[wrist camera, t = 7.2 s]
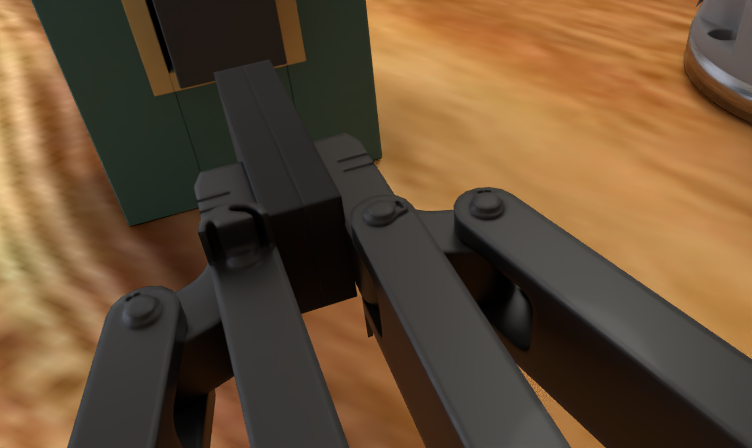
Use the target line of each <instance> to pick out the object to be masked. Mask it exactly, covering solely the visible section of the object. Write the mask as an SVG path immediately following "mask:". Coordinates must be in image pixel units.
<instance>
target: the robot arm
mask: <svg viewBox="0 0 752 448" xmlns="http://www.w3.org/2000/svg"><path fill="white" fill-rule="evenodd" d="M702 1H703V0H699V2H698V4H697V5H696V7H697V6H698V5H699V4H700V3H701V2H702ZM684 66H685V69H686V72H687V75H688V76H689V78H690V79H691V81H692V82H693V84H694V85H695V86H696V87H697V88H698V89H699V90H700V91H701V92H702V93H703V94H704V95H705V96H706V97H708V98H709V99H710V100H712V101H713V102H714V103H716V104H717V105H719V106H721V107H722V108H724V109H725V110H727V111H729V112H731V113H733V114H734V115H736V116H738V117H740V118H742V119H744V120H747V121H749V122H751V123H752V0H704V1H703V3H702V5H701V6H700V8H699V10H698V12H697V14H696V16H695V17H694V19H693V21H692V24H691V27H690V31H689V36H688V40H687V45H686V50H685V54H684ZM213 73H214V76H215V80H216V84H217V87H218V91H219V95H220V99H221V102H222V106H223V110H224V113H225V117H226V121H227V124H228V128H229V132H230V135H231V139H232V143H233V146H234V150H235V154H236V157H237V161H238V162H237V163H233V164H229V165H225V166H222V167H218V168H214V169H210V170H206V171H203V172H200V174H199V176H198V178H197V181H196V183H195V185H194V189H195V193H196V198H197V202H198V207H199V211H200V215H201V221H200V223H199V227H198V234H199V237H200V240H201V243H202V246H203V248H204V251H205V254H206V257H207V260H208V264H207V267H206V268H205V270H204V271H203V273H202V274H201V275H200V276H199V277H198V278H197V279H196V280H195V281H193V282H192V283H190V284H189V285H187V286H186V287H184V288H182V289H180V290H178V291H177V292H175V293H174V292H173V290H171V289H168V288H165V287H163V286H148V287H144V288H140V289H136V290H134V291H132V292H130V293H128V294H126V295H124V296H123V297H121V298H120V299H119V300H118V301H117V302H116V303H115V304H114V305H113V306H112V307H111V309H110V310H109V312H108V314H107V316H106V318H105V322H104V325H103V328H102V332H101V335H100V339H99V342H98V345H97V349H96V352H95V356H94V359H93V362H92V366H91V369H90V372H89V376H88V379H87V383H86V386H85V389H84V393H83V396H82V400H81V403H80V406H79V410H78V413H77V416H76V420H75V423H74V427H73V430H72V433H71V437H70V440H69V444H68V447H67V448H210V443H211V434H212V424H213V415H214V406H215V397H216V395H215V388H217V387H218V386H220V385H221V384H223V383H224V382H226V381H227V380H229V379H231V378H232V377H234V376H235V380H236V385H237V389H238V394H239V398H240V402H241V407H242V411H243V416H244V420H245V424H246V429H247V433H248V438H249V442H250V446H251V448H349V445H348V443H347V440H346V437H345V434H344V432H343V429H342V426H341V423H340V420H339V418H338V415H337V412H336V409H335V407H334V404H333V401H332V398H331V396H330V393H329V390H328V387H327V384H326V382H325V379H324V376H323V373H322V371H321V368H320V365H319V362H318V360H317V357H316V354H315V351H314V348H313V346H312V343H311V340H310V337H309V335H308V332H307V329H306V326H305V323H304V321H303V318H302V315H301V314H302V313H306V312H309V311H312V310H315V309H318V308H322V307H325V306H328V305H331V304H334V303H337V302H341V301H344V300H347V299H350V298H353V297H356V296H357V291H356V285H355V282H356V284H357V286H358V289H359V291H360V293H361V295H362V301H363V307H364V314H365V321H366V327H367V333H368V337H371V336H373V333H374V335H375V337H376V339H377V342H378V344H379V346H380V348H381V350H382V353H383V355H384V357H385V359H386V361H387V363H388V366H389V368H390V370H391V372H392V374H393V377H394V379H395V381H396V383H397V385H398V388H399V390H400V392H401V394H402V396H403V398H404V401H405V403H406V405H407V407H408V409H409V412H410V414H411V416H412V418H413V420H414V422H415V425H416V427H417V429H418V431H419V433H420V436H421V438H422V440H423V442H424V444H425V447H426V448H571V447H570V445H569V444H568V442H567V441H566V439H565V438H564V436H563V435H562V433H561V432H560V430H559V428H558V427H557V425H556V424H555V422H554V421H553V419H552V418H551V416H550V415H549V413H548V412H547V410H546V409H545V407H544V406H543V404H542V402H541V401H540V399H539V398H538V396H537V395H536V393H535V392H534V390H533V389H532V387H531V386H530V384H529V383H528V381H527V380H526V378H525V377H524V375H523V373H522V372H521V370H520V369H519V367H520V368H522V369H523V370H524V371H525V372H526V373H527V374H528V375H529V376H530V377H531V378H532V379H533V380H534V381H535V382H536V383H537V384H539V385H540V386H541V387H542V388H543V389H544V390H545V391H546V392H547V393H548V394H549V395H550V396H551V397H552V398H553V399H555V400H556V401H557V402H558V403H559V404H560V405H561V406H562V407H563V408H564V409H565V410H566V411H567V412H568V413H569V414H570V415H572V416H573V417H574V418H575V419H576V420H577V421H578V422H579V423H580V424H581V425H582V426H583V427H584V428H585V429H586V430H588V431H589V432H590V433H591V434H592V435H593V436H594V437H595V438H596V439H597V440H598V441H599V442H600V443H601V444H602V445H603V446H605V447H606V448H752V359H751V358H749V357H748V356H746V355H745V354H743V353H742V352H740V351H739V350H737V349H736V348H735V347H733V346H732V345H730V344H729V343H727V342H726V341H724V340H723V339H722V338H720V337H719V336H717V335H716V334H714V333H713V332H711V331H710V330H708V329H707V328H706V327H704V326H703V325H701V324H700V323H698V322H697V321H695V320H694V319H693V318H691V317H690V316H688V315H687V314H685V313H684V312H682V311H681V310H679V309H678V308H677V307H675V306H674V305H672V304H671V303H669V302H668V301H666V300H665V299H664V298H662V297H661V296H659V295H658V294H656V293H655V292H653V291H652V290H650V289H649V288H648V287H646V286H645V285H643V284H642V283H640V282H639V281H637V280H636V279H635V278H633V277H632V276H630V275H629V274H627V273H626V272H624V271H623V270H621V269H620V268H619V267H617V266H616V265H614V264H613V263H611V262H610V261H608V260H607V259H605V258H604V257H603V256H601V255H600V254H598V253H597V252H595V251H594V250H592V249H591V248H590V247H588V246H587V245H585V244H584V243H582V242H581V241H579V240H578V239H576V238H575V237H574V236H572V235H571V234H569V233H568V232H566V231H565V230H563V229H562V228H561V227H559V226H558V225H556V224H555V223H553V222H552V221H550V220H549V219H547V218H546V217H545V216H543V215H542V214H540V213H539V212H537V211H536V210H534V209H533V208H532V207H530V206H529V205H527V204H526V203H524V202H523V201H521V200H520V199H518V198H517V197H516V196H514V195H513V194H511V193H509V192H507V191H504V190H502V189H497V188H491V187H485V188H476V189H473V190H469V191H466V192H465V193H463V194H462V195H461V196H459V197H458V198H457V200H456V202H455V204H454V210H444V211H422V210H417V209H415V208H414V207H413V205H412V204H410V203H409V202H408V201H407V200H406V199H404V198H401V197H399V196H396V195H394V193H393V192H392V190H391V189H390V187H389V185H388V184H387V182H386V181H385V179H384V178H383V176H382V174H381V173H380V171H379V170H378V168H377V167H376V165H375V164H374V162H373V160H372V159H371V157H370V156H369V155H368V152H367V151H366V149H365V148H364V146H363V145H362V143H361V141H360V140H358V139H356V138H354V137H352V136H351V135H349V134H347V133H341V134H338V135H334V136H330V137H326V138H322V139H318V140H315V141H312V139H311V137H310V135H309V133H308V131H307V129H306V128H305V126H304V124H303V122H302V120H301V118H300V116H299V114H298V112H297V110H296V109H295V107H294V105H293V103H292V101H291V99H290V97H289V95H288V93H287V91H286V90H285V88H284V86H283V84H282V82H281V80H280V78H279V76H278V74H277V72H276V71H275V69H274V67H273V65H272V63H271V61H270V59H269V60H265V61H260V62H256V63H252V64H248V65H243V66H239V67H235V68H230V69H226V70H222V71H218V72H213ZM517 365H518V366H519V367H518V366H517Z"/></svg>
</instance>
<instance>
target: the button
mask: <svg viewBox="0 0 752 448" xmlns="http://www.w3.org/2000/svg"><path fill="white" fill-rule="evenodd" d="M152 1H153V4H154V7H155V10H156V14H157V17H158V20H159V23H160V26H161V29H162V33H163V36H164V39H165V42H166V45H167V49H168V52H169V55H170V58H171V61H172V64H173V68H174V71H175V74H176V77H177V80H178V83H179V87H180V88H181V89H183V88H187V87H191V86H195V85H200V84H204V83H208V82H212V81H216V80H215V76H214V73H213V72H218V71H222V70H226V69H230V68H235V67H239V66H243V65H248V64H252V63H256V62H260V61H265V60H269V59H270V61H271V63H272V65H273V67H276V66H280V65H285V64H287V59H286V54H285V49H284V44H283V39H282V33H281V28H280V23H279V18H278V13H277V8H276V2H275V0H152Z"/></svg>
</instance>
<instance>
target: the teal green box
mask: <svg viewBox="0 0 752 448" xmlns="http://www.w3.org/2000/svg"><path fill="white" fill-rule="evenodd" d="M31 1H32V4H33V6H34V8H35V11H36V13H37V15H38V17H39V20H40V22H41V24H42V27H43V29H44V31H45V34H46V36H47V38H48V41H49V43H50V45H51V47H52V50H53V52H54V54H55V57H56V59H57V61H58V64H59V66H60V68H61V71H62V73H63V75H64V77H65V80H66V82H67V84H68V87H69V89H70V91H71V94H72V96H73V98H74V100H75V103H76V105H77V107H78V110H79V112H80V114H81V117H82V119H83V121H84V124H85V126H86V128H87V130H88V133H89V135H90V137H91V140H92V142H93V144H94V147H95V149H96V151H97V153H98V156H99V158H100V160H101V163H102V165H103V167H104V170H105V172H106V174H107V177H108V179H109V181H110V183H111V186H112V188H113V190H114V193H115V195H116V197H117V200H118V202H119V204H120V207H121V209H122V211H123V213H124V216H125V218H126V220H127V223H128V225H129V226H133V225H136V224H140V223H144V222H147V221H151V220H155V219H158V218H162V217H166V216H170V215H173V214H177V213H181V212H184V211H188V210H192V209H195V208H199V207H198V202H197V198H196V193H195V189H194V185H195V183H196V181H197V178H198V176H199V174H200V172H203V171H206V170H210V169H214V168H218V167H222V166H225V165H229V164H233V163H237V162H238V161H237V157H236V154H235V150H234V146H233V143H232V139H231V135H230V132H229V128H228V124H227V121H226V117H225V113H224V110H223V106H222V102H221V99H220V95H219V91H218V87H217V84H216V81H212V82H208V83H204V84H200V85H195V86H191V87H187V88H183V89H181V88H180V87H179V83H178V80H177V77H176V74H175V71H174V68H173V64H172V61H171V58H170V55H169V52H168V49H167V45H166V42H165V39H164V36H163V33H162V29H161V26H160V23H159V20H158V17H157V14H156V10H155V7H154V4H153V1H152V0H31ZM275 2H276V8H277V13H278V18H279V23H280V28H281V33H282V39H283V44H284V49H285V54H286V59H287V64H285V65H280V66H276V67H274V69H275V71H276V72H277V74H278V76H279V78H280V80H281V82H282V84H283V86H284V88H285V90H286V91H287V93H288V95H289V97H290V99H291V101H292V103H293V105H294V107H295V109H296V110H297V112H298V114H299V116H300V118H301V120H302V122H303V124H304V126H305V128H306V129H307V131H308V133H309V135H310V137H311V139H312V141H315V140H318V139H322V138H326V137H330V136H334V135H338V134H341V133H347V134H349V135H351V136H352V137H354V138H356V139H358V140H360V141H361V143H362V145H363V146H364V148H365V149H366V151H367V152H368V155H369V156H370V157H371V159H372V160H376V159H379V158H382V152H381V142H380V133H379V123H378V114H377V104H376V95H375V85H374V76H373V66H372V56H371V47H370V37H369V28H368V18H367V9H366V0H275Z"/></svg>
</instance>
